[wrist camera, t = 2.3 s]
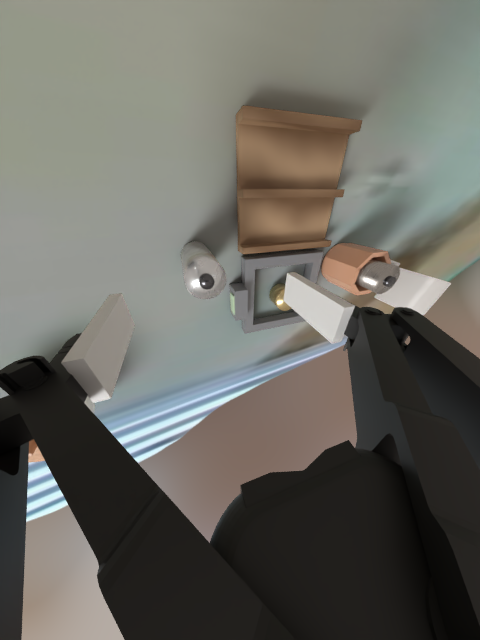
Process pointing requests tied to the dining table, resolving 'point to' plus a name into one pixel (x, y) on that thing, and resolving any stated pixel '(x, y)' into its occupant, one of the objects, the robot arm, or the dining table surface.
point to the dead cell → (378, 276)
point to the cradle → (245, 290)
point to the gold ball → (279, 297)
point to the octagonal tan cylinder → (349, 265)
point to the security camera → (414, 291)
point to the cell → (202, 271)
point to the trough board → (287, 177)
